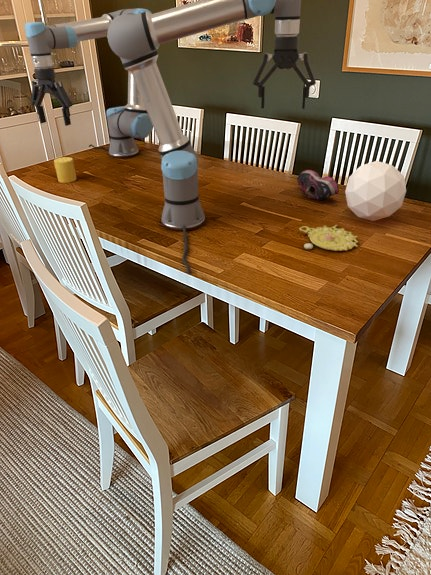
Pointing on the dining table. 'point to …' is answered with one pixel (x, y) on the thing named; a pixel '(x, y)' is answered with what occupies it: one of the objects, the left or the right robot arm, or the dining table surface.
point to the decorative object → (330, 238)
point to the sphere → (375, 190)
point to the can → (65, 169)
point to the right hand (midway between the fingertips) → (282, 107)
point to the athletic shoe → (317, 185)
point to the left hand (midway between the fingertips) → (55, 123)
